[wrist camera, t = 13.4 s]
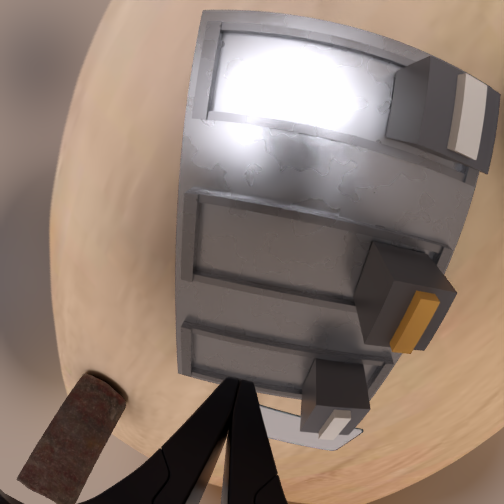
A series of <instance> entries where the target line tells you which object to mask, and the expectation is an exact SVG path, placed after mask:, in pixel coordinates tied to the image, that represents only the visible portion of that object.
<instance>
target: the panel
mask: <svg viewBox="0 0 504 504" xmlns="http://www.w3.org/2000/svg"><path fill="white" fill-rule="evenodd" d="M428 56H433V55H430V54H428V53H426V52H424V51H421V50H419V49H416V48H414V47H412V46H409V45H406V44H404V43H401V42H399V41H396V40H393V39H390V38H387V37H384V36H381V35H378V34H375V33H372V32H369V31H365V30H362V29H358V28H354V27H351V26H347V25H343V24H338V23H334V22H330V21H325V20H320V19H315V18H309V17H303V16H296V15H289V14H281V13H272V12H261V11H245V10H203V12H202V17H201V22H200V26H199V31H198V37H197V42H196V47H195V53H194V59H193V65H192V71H191V78H190V84H189V91H188V98H187V106H186V114H185V123H184V131H183V141H182V151H181V163H180V175H179V189H178V206H177V227H176V265H175V305H176V342H177V363H178V373H179V374H182V375H186V376H189V377H193V378H197V379H201V380H204V381H208V382H212V383H216V384H221V382H222V381H223V380H224V379H225V378H226V377H227V376H231V377H235V378H239V379H240V380H241V379H244V380H249V381H253V383H254V385H255V389H256V392H258V393H263V394H269V395H275V396H281V397H287V398H294V399H301V400H302V387H303V385H304V383H305V381H306V378H307V376H308V374H309V372H310V370H311V367H312V365H313V363H314V361H315V358H318V359H325V360H332V361H339V362H347V363H356V364H363V365H364V371H365V377H366V383H367V389H368V396H369V401H370V400H371V398H372V397H373V396H374V394H375V393H376V392H377V390H378V389H379V387H380V386H381V385H382V383H383V382H384V380H385V379H386V377H387V376H388V374H389V373H390V371H391V370H392V368H393V367H394V365H395V364H396V362H397V361H398V359H399V358H400V356H401V355H402V353H396V352H392V350H391V347H382V346H374V345H366V344H364V341H363V336H362V332H361V327H360V323H359V319H358V314H357V310H356V306H355V302H354V298H353V296H354V293H355V290H356V288H357V285H358V282H359V280H360V277H361V274H362V271H363V269H364V266H365V263H366V260H367V257H368V254H369V251H370V248H371V245H372V242H373V241H375V242H380V243H384V244H388V245H392V246H397V247H401V248H405V249H409V250H413V251H417V252H421V253H425V254H428V256H429V257H430V258H431V259H432V260H433V262H434V263H435V264H436V265H437V267H438V268H439V269H440V271H441V272H442V273H443V274H445V271H446V269H447V267H448V264H449V262H450V260H451V257H452V255H453V252H454V250H455V247H456V245H457V242H458V239H459V237H460V234H461V231H462V228H463V225H464V223H465V220H466V217H467V214H468V210H469V207H470V204H471V201H472V197H473V194H474V190H475V187H476V183H477V179H478V175H479V171H478V170H475V169H472V168H470V167H467V166H464V165H461V164H459V163H456V162H453V161H450V160H447V159H444V158H442V157H439V156H437V155H434V154H432V153H429V152H426V151H424V150H421V149H418V148H415V147H413V146H410V145H407V144H404V143H401V142H398V141H395V140H392V139H389V138H386V132H387V127H388V122H389V116H390V111H391V105H392V98H393V92H394V85H395V78H396V71H397V70H399V69H402V68H404V67H406V66H408V65H410V64H412V63H415V62H417V61H419V60H421V59H424V58H426V57H428ZM433 57H435V56H433ZM435 58H437V57H435ZM437 59H439V58H437ZM440 60H441V59H440ZM442 61H443V60H442ZM444 62H445V61H444ZM446 63H447V62H446ZM448 64H449V63H448ZM450 65H451V64H450ZM452 66H453V65H452ZM454 67H455V66H454ZM456 68H457V67H456ZM458 69H459V68H458ZM459 70H461V69H459ZM461 71H463V70H461ZM463 72H464V71H463ZM465 73H466V72H465ZM467 74H468V73H467ZM469 75H470V74H469ZM470 76H472V75H470ZM472 77H473V76H472ZM474 78H475V77H474ZM475 79H477V78H475ZM477 80H478V79H477ZM479 81H480V80H479ZM481 82H482V81H481ZM482 83H483V82H482ZM484 84H485V83H484ZM485 85H487V84H485ZM487 86H488V85H487ZM489 87H490V86H489ZM490 88H491V87H490Z"/></svg>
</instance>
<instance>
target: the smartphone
mask: <svg viewBox="0 0 504 504" xmlns="http://www.w3.org/2000/svg"><path fill="white" fill-rule="evenodd" d="M259 405H260V404H259ZM260 409H261V413H262V417H263V421H264V424H265V428H266V432H267V436H268V438H271V439H275V440H279V441H284V442H288V443H293V444H297V445H302V446H307V447H313V448H318V449H324V450H330V451H334V450H337V449H339V448H340V447H342V446H343V445H345V444H346V443H348V442H349V441H351V440H352V439H354V438H355V437H357V436H358V435H360V434H361V433H362V432H363V429H359V428H354V429H353V431H352V432H351V433H350V434H349V435H337V437H336V438H335V439H334V440H324V439H318V437H319V433H309V432H300V420H301V416H298V415H295V414H291V413H287V412H283V411H280V410H276V409H273V408H270V407H266V406H263V405H260Z"/></svg>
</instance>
